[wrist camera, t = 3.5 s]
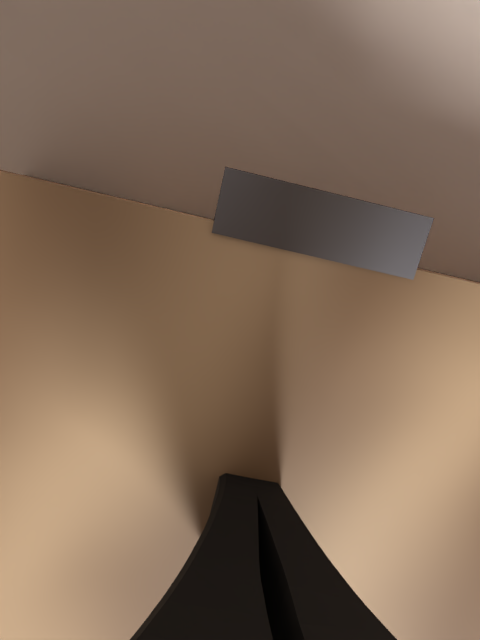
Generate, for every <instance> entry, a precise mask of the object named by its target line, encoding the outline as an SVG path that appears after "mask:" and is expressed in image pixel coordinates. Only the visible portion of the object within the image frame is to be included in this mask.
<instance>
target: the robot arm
mask: <svg viewBox="0 0 480 640" xmlns="http://www.w3.org/2000/svg"><path fill="white" fill-rule="evenodd" d="M130 640H397V639H396V638H395V637H394V636H393V635H392V634H391V632H390V631H389V630H388V629H387V628H386V627H385V626H384V625H383V624H382V623H381V621H380V620H379V619H378V618H377V617H376V616H375V615H374V614H373V613H372V612H371V610H370V609H369V608H368V607H367V606H366V605H365V604H364V603H363V601H362V600H361V599H360V598H359V597H358V595H357V594H356V593H355V592H354V591H353V589H352V588H351V587H350V586H349V584H348V583H347V582H346V581H345V579H344V578H343V577H342V575H341V574H340V573H339V572H338V570H337V569H336V568H335V567H334V565H333V564H332V563H331V561H330V560H329V558H328V557H327V556H326V554H325V553H324V552H323V550H322V549H321V547H320V546H319V545H318V543H317V542H316V540H315V539H314V537H313V536H312V535H311V533H310V532H309V530H308V529H307V527H306V526H305V524H304V523H303V521H302V520H301V518H300V516H299V515H298V513H297V512H296V510H295V509H294V507H293V506H292V504H291V502H290V501H289V499H288V498H287V496H286V495H285V493H284V491H283V490H282V488H281V487H280V485H279V484H278V483H276V482H271V481H265V480H259V479H254V478H249V477H244V476H238V475H233V474H228V473H225V474H223V475H221V476H219V480H218V484H217V488H216V492H215V496H214V500H213V504H212V508H211V512H210V516H209V518H208V521H207V523H206V525H205V527H204V530H203V532H202V534H201V536H200V537H199V539H198V541H197V543H196V545H195V546H194V548H193V550H192V552H191V554H190V556H189V557H188V559H187V561H186V562H185V564H184V566H183V567H182V569H181V571H180V572H179V574H178V575H177V577H176V578H175V580H174V581H173V583H172V584H171V586H170V587H169V589H168V590H167V592H166V593H165V595H164V596H163V597H162V599H161V600H160V601H159V603H158V604H157V605H156V607H155V608H154V609H153V611H152V612H151V613H150V615H149V616H148V617H147V619H146V620H145V621H144V623H143V624H142V625H141V626H140V628H139V629H138V630H137V631H136V633H135V634H134V635H133V636H132V637H131V639H130Z"/></svg>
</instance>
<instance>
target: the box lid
mask: <svg viewBox="0 0 480 640" xmlns="http://www.w3.org/2000/svg"><path fill="white" fill-rule="evenodd" d="M433 219H434V218H431V217H427V216H423V215H419V214H415V213H411V212H407V211H403V210H399V209H395V208H391V207H387V206H383V205H379V204H374V203H370V202H366V201H362V200H358V199H354V198H350V197H346V196H342V195H338V194H334V193H330V192H326V191H322V190H318V189H314V188H310V187H306V186H301V185H297V184H293V183H289V182H285V181H281V180H277V179H273V178H269V177H265V176H261V175H257V174H253V173H249V172H245V171H241V170H237V169H233V168H229V167H225V171H224V176H223V181H222V186H221V190H220V195H219V200H218V204H217V209H216V214H215V218H214V220H210V219H206V218H202V217H198V216H193V215H189V214H185V213H181V212H176V211H172V210H168V209H164V208H159V207H155V206H151V205H147V204H142V203H138V202H134V201H130V200H126V199H121V198H117V197H113V196H109V195H104V194H100V193H96V192H92V191H87V190H83V189H79V188H75V187H70V186H66V185H62V184H58V183H54V182H49V181H45V180H41V179H37V178H32V177H28V176H24V175H20V174H15V173H11V172H7V171H3V170H0V640H130V639H131V637H132V636H133V635H134V634H135V633H136V631H137V630H138V629H139V628H140V626H141V625H142V624H143V623H144V621H145V620H146V619H147V617H148V616H149V615H150V613H151V612H152V611H153V609H154V608H155V607H156V605H157V604H158V603H159V601H160V600H161V599H162V597H163V596H164V595H165V593H166V592H167V590H168V589H169V587H170V586H171V584H172V583H173V581H174V580H175V578H176V577H177V575H178V574H179V572H180V571H181V569H182V567H183V566H184V564H185V562H186V561H187V559H188V557H189V556H190V554H191V552H192V550H193V548H194V546H195V545H196V543H197V541H198V539H199V537H200V536H201V534H202V532H203V530H204V527H205V525H206V523H207V521H208V518H209V516H210V512H211V508H212V504H213V500H214V496H215V492H216V488H217V484H218V480H219V476H221V475H223V474H225V473H228V474H233V475H238V476H244V477H249V478H254V479H259V480H265V481H271V482H276V483H278V484H279V485H280V487H281V488H282V490H283V491H284V493H285V495H286V496H287V498H288V499H289V501H290V502H291V504H292V506H293V507H294V509H295V510H296V512H297V513H298V515H299V516H300V518H301V520H302V521H303V523H304V524H305V526H306V527H307V529H308V530H309V532H310V533H311V535H312V536H313V537H314V539H315V540H316V542H317V543H318V545H319V546H320V547H321V549H322V550H323V552H324V553H325V554H326V556H327V557H328V558H329V560H330V561H331V563H332V564H333V565H334V567H335V568H336V569H337V570H338V572H339V573H340V574H341V575H342V577H343V578H344V579H345V581H346V582H347V583H348V584H349V586H350V587H351V588H352V589H353V591H354V592H355V593H356V594H357V595H358V597H359V598H360V599H361V600H362V601H363V603H364V604H365V605H366V606H367V607H368V608H369V609H370V610H371V612H372V613H373V614H374V615H375V616H376V617H377V618H378V619H379V620H380V621H381V623H382V624H383V625H384V626H385V627H386V628H387V629H388V630H389V631H390V632H391V634H392V635H393V636H394V637H395V638H396V639H397V640H480V283H477V282H473V281H469V280H464V279H460V278H456V277H452V276H448V275H443V274H439V273H435V272H431V271H426V270H422V269H418V264H419V261H420V258H421V255H422V252H423V249H424V246H425V243H426V240H427V237H428V234H429V231H430V228H431V225H432V222H433Z"/></svg>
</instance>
